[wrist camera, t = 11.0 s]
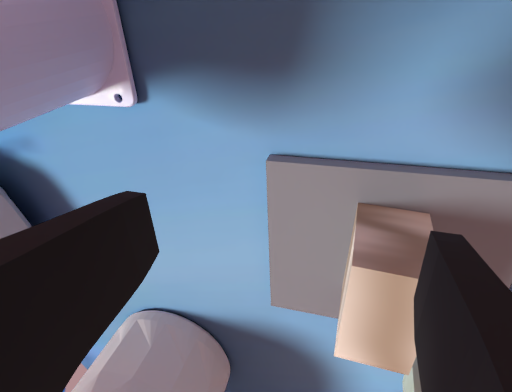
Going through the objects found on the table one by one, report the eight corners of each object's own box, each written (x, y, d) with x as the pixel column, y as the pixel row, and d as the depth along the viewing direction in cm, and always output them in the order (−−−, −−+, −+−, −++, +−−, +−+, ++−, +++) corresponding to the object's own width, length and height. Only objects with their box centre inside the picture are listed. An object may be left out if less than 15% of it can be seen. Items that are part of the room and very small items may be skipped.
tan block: (342, 285, 22) (334, 356, 18) (357, 202, 19) (351, 266, 14) (403, 297, 21) (408, 375, 17) (429, 213, 18) (444, 284, 14)
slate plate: (273, 297, 25) (271, 305, 24) (269, 154, 20) (266, 160, 19) (480, 336, 22) (483, 347, 21) (547, 176, 16) (554, 184, 15)
